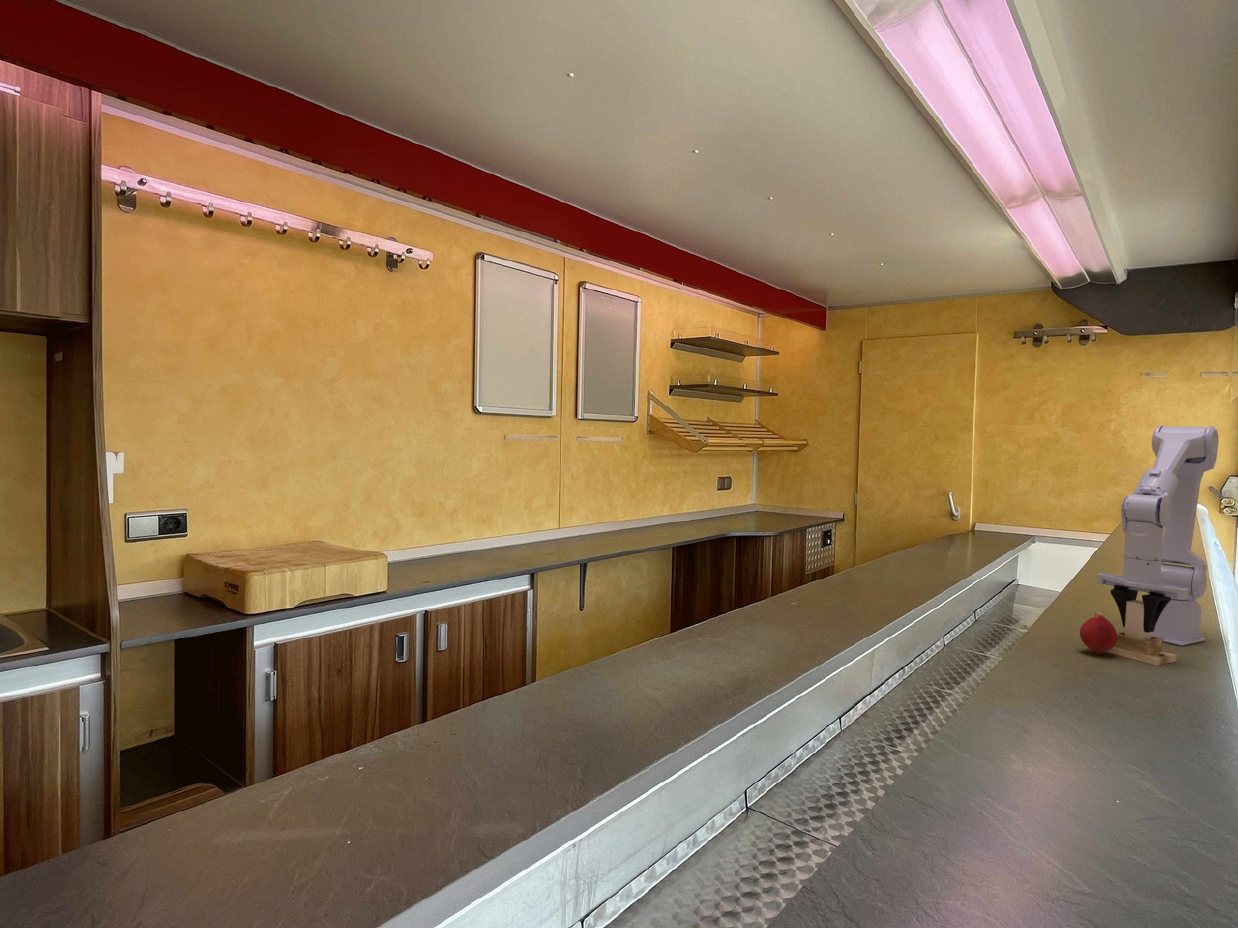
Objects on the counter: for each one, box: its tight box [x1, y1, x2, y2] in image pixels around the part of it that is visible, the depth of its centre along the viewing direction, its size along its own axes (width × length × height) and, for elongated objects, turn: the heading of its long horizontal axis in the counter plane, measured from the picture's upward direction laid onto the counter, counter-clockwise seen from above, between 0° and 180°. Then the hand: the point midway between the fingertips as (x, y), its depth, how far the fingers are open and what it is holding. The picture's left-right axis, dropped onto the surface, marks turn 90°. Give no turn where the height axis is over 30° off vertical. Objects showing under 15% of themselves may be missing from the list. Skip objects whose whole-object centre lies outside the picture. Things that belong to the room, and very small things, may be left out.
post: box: [1124, 599, 1151, 641], centre depth 132 cm, size 3×3×8 cm
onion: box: [1079, 611, 1118, 655], centre depth 132 cm, size 6×6×8 cm
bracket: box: [1105, 631, 1177, 667], centre depth 132 cm, size 6×10×4 cm, turn 27°
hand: (1138, 629), depth 132 cm, fingers closed on post, 3 cm apart
